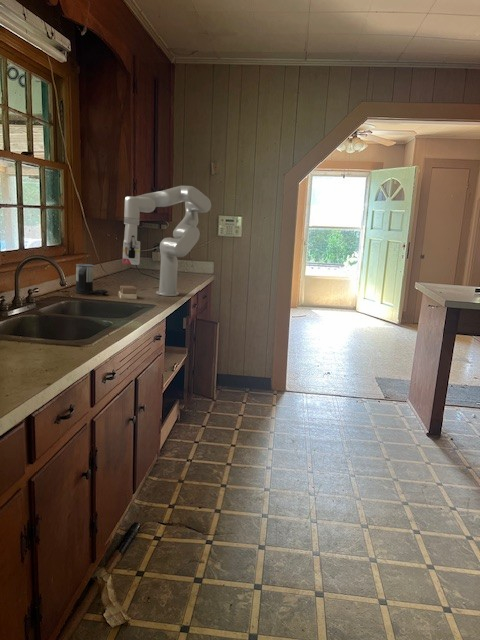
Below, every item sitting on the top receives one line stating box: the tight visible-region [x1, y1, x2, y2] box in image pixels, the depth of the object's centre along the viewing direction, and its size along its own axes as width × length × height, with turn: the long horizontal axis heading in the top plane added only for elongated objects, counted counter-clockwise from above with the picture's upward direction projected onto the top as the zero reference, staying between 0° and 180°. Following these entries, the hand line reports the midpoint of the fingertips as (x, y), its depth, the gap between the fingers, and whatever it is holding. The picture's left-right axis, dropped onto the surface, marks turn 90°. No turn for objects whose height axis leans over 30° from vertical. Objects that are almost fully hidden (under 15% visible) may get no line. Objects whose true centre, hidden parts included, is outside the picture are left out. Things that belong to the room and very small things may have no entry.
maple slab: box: [118, 290, 138, 300], centre depth 252 cm, size 8×8×3 cm
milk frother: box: [75, 263, 109, 295], centre depth 252 cm, size 14×16×15 cm
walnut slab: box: [119, 285, 137, 294], centre depth 252 cm, size 7×7×3 cm
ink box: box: [122, 239, 141, 266], centre depth 247 cm, size 9×5×12 cm, turn 102°
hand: (130, 256), depth 248 cm, fingers closed on ink box, 5 cm apart
